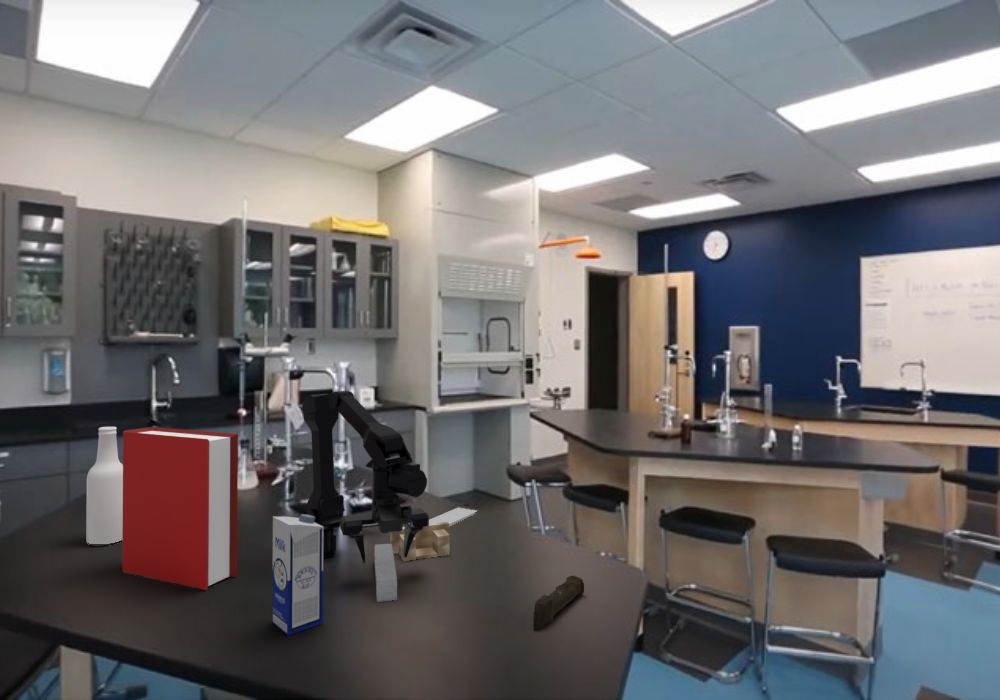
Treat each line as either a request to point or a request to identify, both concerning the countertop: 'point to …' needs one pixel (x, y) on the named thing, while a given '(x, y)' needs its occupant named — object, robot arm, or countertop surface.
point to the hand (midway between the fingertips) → (384, 559)
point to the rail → (385, 573)
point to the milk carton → (297, 573)
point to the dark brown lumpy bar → (556, 600)
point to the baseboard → (453, 516)
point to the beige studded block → (423, 542)
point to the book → (180, 505)
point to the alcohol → (105, 492)
